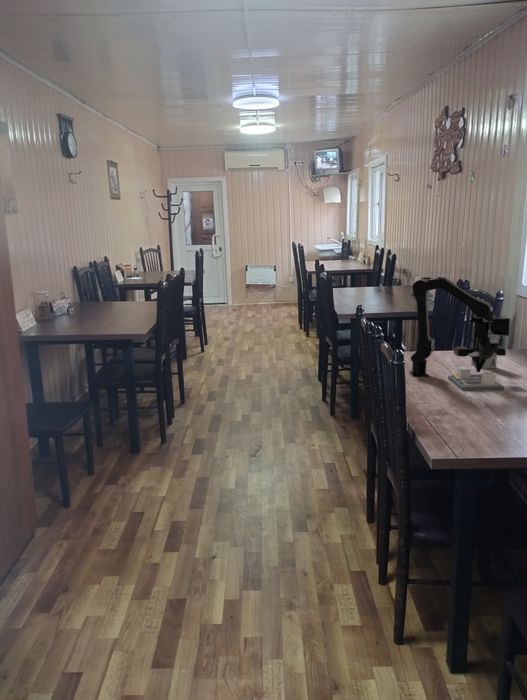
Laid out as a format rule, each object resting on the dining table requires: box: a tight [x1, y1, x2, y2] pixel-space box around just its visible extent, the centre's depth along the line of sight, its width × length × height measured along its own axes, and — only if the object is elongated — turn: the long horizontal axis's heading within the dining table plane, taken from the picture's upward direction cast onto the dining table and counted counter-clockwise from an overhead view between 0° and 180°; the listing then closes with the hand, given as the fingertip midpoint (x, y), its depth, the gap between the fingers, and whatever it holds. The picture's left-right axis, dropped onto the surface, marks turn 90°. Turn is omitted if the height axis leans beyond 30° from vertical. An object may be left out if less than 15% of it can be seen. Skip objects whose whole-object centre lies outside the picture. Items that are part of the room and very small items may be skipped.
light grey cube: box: [456, 366, 472, 378], centre depth 225 cm, size 4×4×4 cm
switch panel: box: [447, 373, 505, 392], centre depth 221 cm, size 16×16×2 cm
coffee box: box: [471, 328, 500, 370], centre depth 246 cm, size 9×6×16 cm
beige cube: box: [481, 372, 497, 384], centre depth 216 cm, size 4×4×4 cm
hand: (478, 372), depth 225 cm, fingers closed
